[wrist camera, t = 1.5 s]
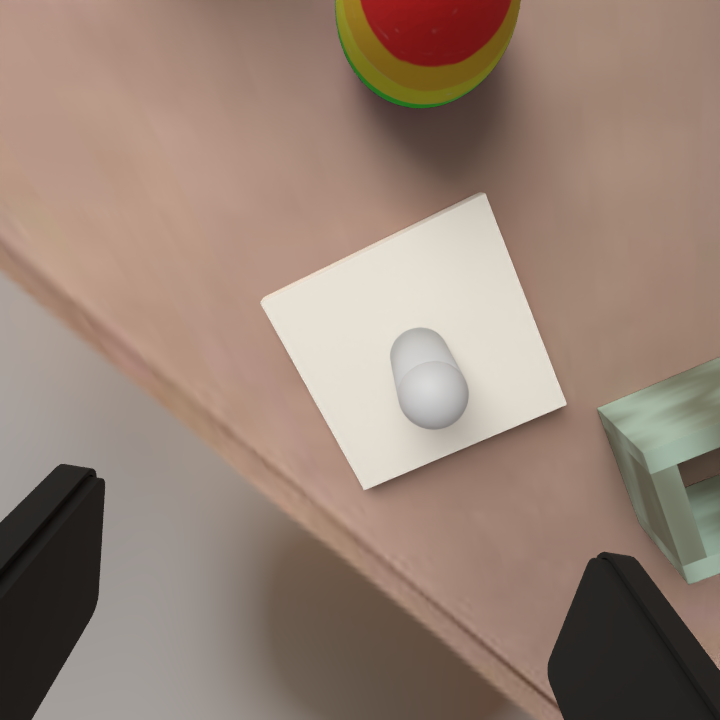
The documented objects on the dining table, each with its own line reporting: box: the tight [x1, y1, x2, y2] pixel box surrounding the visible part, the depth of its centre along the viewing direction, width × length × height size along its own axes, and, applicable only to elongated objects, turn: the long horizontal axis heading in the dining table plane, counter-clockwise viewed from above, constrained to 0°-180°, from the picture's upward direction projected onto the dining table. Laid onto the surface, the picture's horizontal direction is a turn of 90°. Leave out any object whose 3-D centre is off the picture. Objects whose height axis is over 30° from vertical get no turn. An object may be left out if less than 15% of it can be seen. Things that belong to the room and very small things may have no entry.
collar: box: [597, 357, 720, 584], centre depth 34 cm, size 10×10×6 cm
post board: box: [260, 192, 567, 490], centre depth 30 cm, size 14×14×9 cm
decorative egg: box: [335, 0, 521, 108], centre depth 24 cm, size 8×8×10 cm
